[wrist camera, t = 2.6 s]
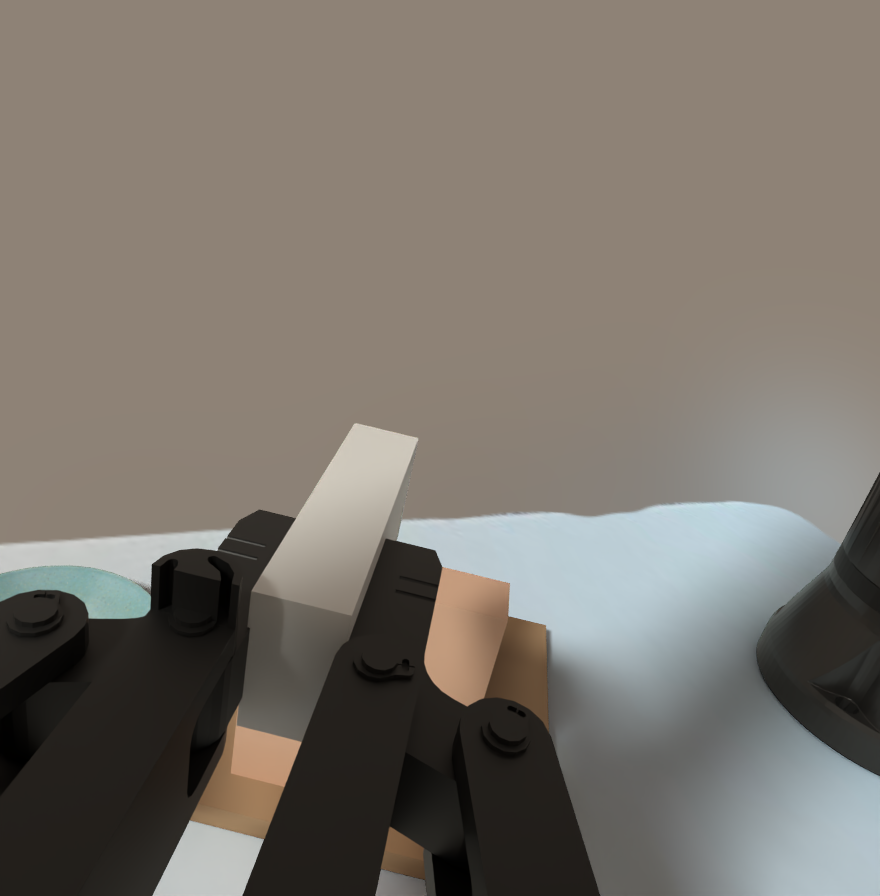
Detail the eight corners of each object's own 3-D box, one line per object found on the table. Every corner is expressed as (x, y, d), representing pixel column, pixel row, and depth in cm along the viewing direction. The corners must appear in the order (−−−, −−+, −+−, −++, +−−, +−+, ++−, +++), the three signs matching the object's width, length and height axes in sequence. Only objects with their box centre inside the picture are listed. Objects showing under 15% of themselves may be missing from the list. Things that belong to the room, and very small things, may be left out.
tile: (450, 779, 34) (509, 581, 29) (444, 827, 32) (507, 620, 26) (251, 730, 34) (275, 524, 29) (230, 773, 32) (253, 558, 27)
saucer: (158, 587, 44) (159, 557, 43) (168, 738, 34) (170, 705, 34) (-69, 604, 39) (-74, 571, 38) (-130, 786, 30) (-138, 748, 29)
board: (541, 639, 47) (545, 625, 46) (545, 910, 30) (553, 893, 30) (251, 568, 47) (253, 554, 47) (103, 798, 31) (103, 779, 30)
